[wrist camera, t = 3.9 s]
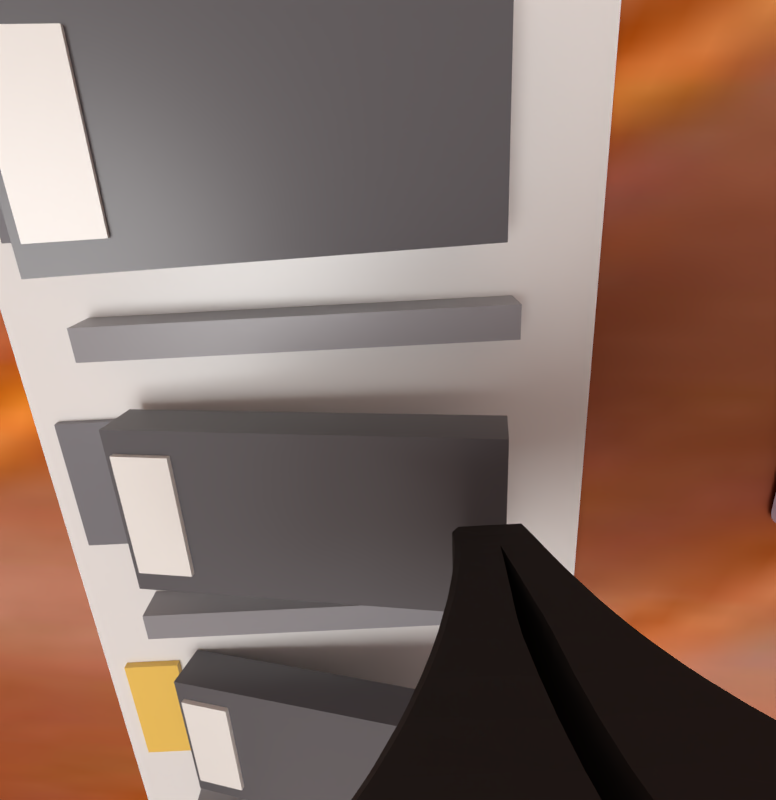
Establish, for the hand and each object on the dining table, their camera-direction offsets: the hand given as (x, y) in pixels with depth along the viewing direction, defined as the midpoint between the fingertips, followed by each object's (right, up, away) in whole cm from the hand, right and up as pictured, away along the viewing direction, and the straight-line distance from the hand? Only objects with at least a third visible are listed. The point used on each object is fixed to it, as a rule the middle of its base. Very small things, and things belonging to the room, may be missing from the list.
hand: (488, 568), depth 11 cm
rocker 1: (-4, +8, -1) cm, 9 cm away
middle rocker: (-4, +1, +2) cm, 5 cm away
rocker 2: (-3, -7, +5) cm, 9 cm away
